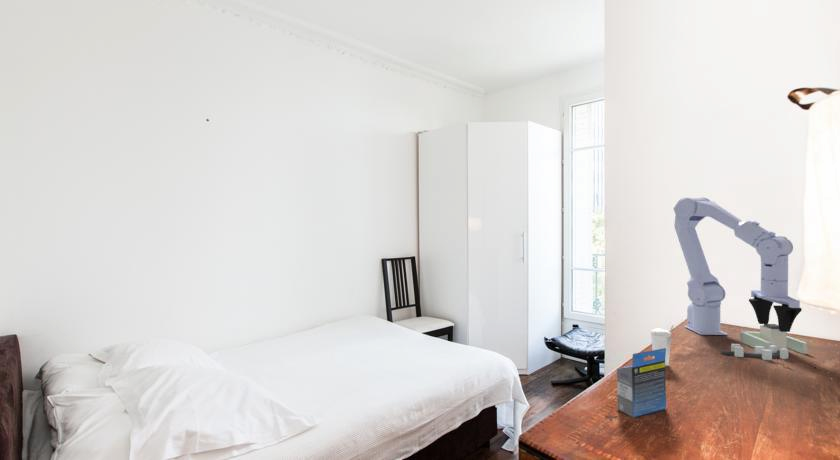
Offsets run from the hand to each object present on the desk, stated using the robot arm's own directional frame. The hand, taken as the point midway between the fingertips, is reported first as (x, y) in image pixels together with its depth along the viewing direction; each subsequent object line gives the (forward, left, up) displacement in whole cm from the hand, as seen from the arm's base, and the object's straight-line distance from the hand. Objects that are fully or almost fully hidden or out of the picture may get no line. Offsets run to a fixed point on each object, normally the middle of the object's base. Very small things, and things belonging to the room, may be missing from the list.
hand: (773, 327), depth 111 cm
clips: (+6, -8, -6) cm, 12 cm away
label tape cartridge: (+39, -52, -6) cm, 66 cm away
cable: (+6, -8, -6) cm, 12 cm away
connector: (0, 0, -6) cm, 6 cm away
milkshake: (+14, -36, -6) cm, 40 cm away
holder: (0, 0, -6) cm, 6 cm away
